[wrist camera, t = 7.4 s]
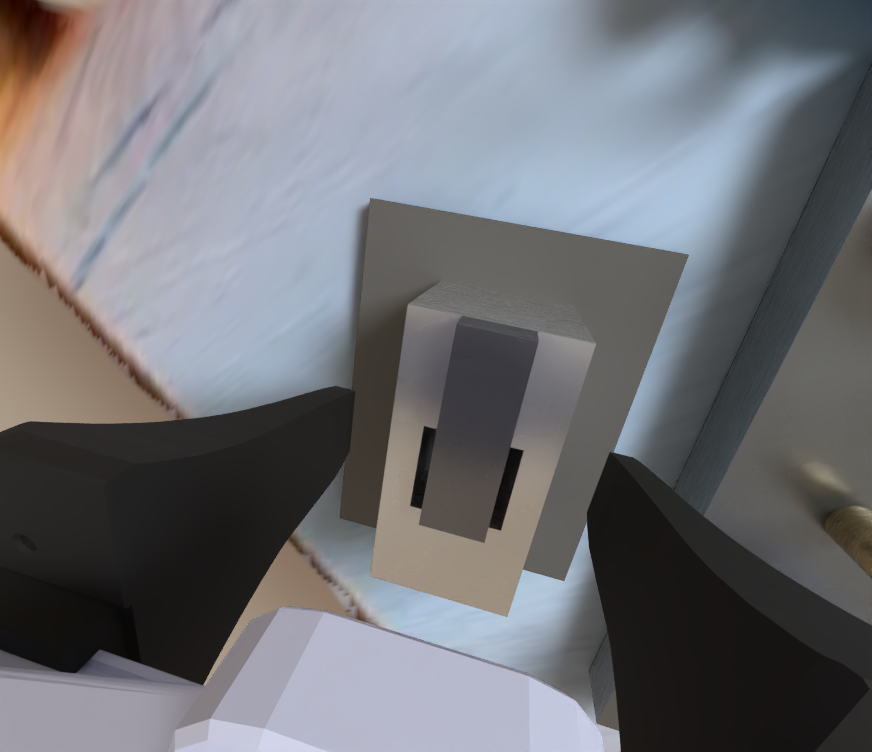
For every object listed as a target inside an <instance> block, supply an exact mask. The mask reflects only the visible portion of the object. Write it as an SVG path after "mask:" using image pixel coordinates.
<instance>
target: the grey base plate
mask: <svg viewBox="0 0 872 752" xmlns="http://www.w3.org/2000/svg"><path fill="white" fill-rule="evenodd" d="M673 491H674V492H676V493H677V494H678V495H679V496H680V497H681V498H682V499H684V500H685V501H686V502H687V503H688V504H690V505H691V506H692V507H693V508H694V509H695V510H697V511H698V512H699V513H700V514H702V515H703V516H704V517H705V518H706V519H708V520H709V521H710V522H712V523H713V524H714V525H715V526H717V527H718V528H719V529H720V530H722V531H723V532H724V533H726V534H727V535H728V536H729V537H731V538H732V539H734V540H735V541H736V542H738V543H739V544H740V545H742V546H743V547H745V548H746V549H747V550H749V551H750V552H752V553H753V554H755V555H756V556H758V557H759V558H761V559H762V560H763V561H765V562H766V563H768V564H769V565H771V566H772V567H774V568H775V569H777V570H778V571H780V572H781V573H783V574H785V575H786V576H788V577H789V578H791V579H792V580H794V581H796V582H797V583H799V584H801V585H802V586H804V587H806V588H807V589H809V590H811V591H812V592H814V593H816V594H817V595H819V596H821V597H822V598H824V599H826V600H827V601H829V602H831V603H832V604H834V605H836V606H838V607H839V608H841V609H843V610H845V611H847V612H848V613H850V614H852V615H854V616H855V617H857V618H859V619H861V620H863V621H865V622H867V623H868V624H870V625H872V65H871V68H870V70H869V72H868V74H867V76H866V78H865V80H864V83H863V85H862V87H861V89H860V91H859V93H858V95H857V98H856V100H855V102H854V104H853V106H852V108H851V110H850V113H849V115H848V117H847V119H846V121H845V123H844V125H843V128H842V130H841V132H840V134H839V136H838V138H837V140H836V143H835V145H834V147H833V149H832V151H831V153H830V155H829V158H828V160H827V162H826V164H825V166H824V168H823V171H822V173H821V175H820V177H819V179H818V181H817V183H816V186H815V188H814V190H813V192H812V194H811V196H810V198H809V201H808V203H807V205H806V207H805V209H804V211H803V213H802V216H801V218H800V220H799V222H798V224H797V226H796V228H795V231H794V233H793V235H792V237H791V239H790V241H789V243H788V246H787V248H786V250H785V252H784V254H783V256H782V258H781V261H780V263H779V265H778V267H777V269H776V271H775V274H774V276H773V278H772V280H771V282H770V284H769V286H768V289H767V291H766V293H765V295H764V297H763V299H762V301H761V304H760V306H759V308H758V310H757V312H756V314H755V316H754V319H753V321H752V323H751V325H750V327H749V329H748V331H747V334H746V336H745V338H744V340H743V342H742V344H741V346H740V349H739V351H738V353H737V355H736V357H735V359H734V361H733V364H732V366H731V368H730V370H729V372H728V374H727V377H726V379H725V381H724V383H723V385H722V387H721V389H720V392H719V394H718V396H717V398H716V400H715V402H714V404H713V407H712V409H711V411H710V413H709V415H708V417H707V419H706V422H705V424H704V426H703V428H702V430H701V432H700V434H699V437H698V439H697V441H696V443H695V445H694V447H693V449H692V452H691V454H690V456H689V458H688V460H687V462H686V464H685V467H684V469H683V471H682V473H681V475H680V477H679V480H678V482H677V484H676V486H675V488H674V490H673ZM589 674H590V681H591V688H592V694H593V701H594V708H595V715H596V722H597V724H600V725H603V726H606V727H609V728H612V729H615V730H618V731H619V722H618V712H617V701H616V690H615V682H614V673H613V664H612V656H611V647H610V642H609V636H608V632H607V634H606V636H605V638H604V640H603V643H602V645H601V647H600V649H599V651H598V653H597V655H596V658H595V660H594V662H593V664H592V666H591V668H590V670H589Z"/></svg>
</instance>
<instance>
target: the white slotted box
mask: <svg viewBox="0 0 872 752" xmlns="http://www.w3.org/2000/svg"><path fill="white" fill-rule="evenodd" d="M595 346H596V342H595V341H594V339H593V337H592V336H591V334H590V332H589V331H588V329H587V327H586V326H585V324H584V322H583V321H582V319H581V317H580V316H579V314H578V313H577V311H576V309H575V308H574V307H572V306H567V305H562V304H557V303H552V302H547V301H542V300H537V299H532V298H527V297H522V296H517V295H512V294H507V293H502V292H497V291H492V290H487V289H482V288H477V287H472V286H467V285H462V284H457V283H452V282H447V281H440V282H439V283H437V284H436V285H434V286H433V287H432V288H430V289H429V290H427V291H426V292H424V293H423V294H422V295H420V296H419V297H417V298H416V299H414V300H413V301H412V302H410V303H409V304H408V306H407V313H406V321H405V328H404V335H403V342H402V349H401V356H400V364H399V371H398V378H397V385H396V392H395V399H394V407H393V414H392V421H391V428H390V435H389V442H388V450H387V457H386V464H385V471H384V478H383V485H382V493H381V500H380V507H379V514H378V521H377V528H376V535H375V543H374V550H373V557H372V564H371V571H370V576H371V577H374V578H378V579H381V580H384V581H388V582H391V583H395V584H398V585H401V586H405V587H408V588H411V589H415V590H418V591H422V592H425V593H428V594H432V595H435V596H438V597H442V598H445V599H448V600H452V601H455V602H459V603H462V604H465V605H469V606H472V607H475V608H479V609H482V610H485V611H489V612H492V613H496V614H499V615H502V616H506V617H507V616H508V613H509V610H510V607H511V604H512V601H513V598H514V595H515V591H516V588H517V585H518V582H519V579H520V576H521V573H522V570H523V567H524V564H525V561H526V558H527V555H528V552H529V549H530V546H531V542H532V539H533V536H534V533H535V530H536V527H537V524H538V521H539V518H540V515H541V512H542V509H543V506H544V503H545V500H546V496H547V493H548V490H549V487H550V484H551V481H552V478H553V475H554V472H555V469H556V466H557V463H558V460H559V457H560V454H561V451H562V447H563V444H564V441H565V438H566V435H567V432H568V429H569V426H570V423H571V420H572V417H573V414H574V411H575V408H576V405H577V402H578V398H579V395H580V392H581V389H582V386H583V383H584V380H585V377H586V374H587V371H588V368H589V365H590V362H591V359H592V356H593V352H594V349H595Z"/></svg>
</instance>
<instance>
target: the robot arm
mask: <svg viewBox="0 0 872 752" xmlns="http://www.w3.org/2000/svg"><path fill="white" fill-rule="evenodd" d="M355 392H356V391H354V390H350V389H345V388H341V387H337V386H334V387H328V388H324V389H320V390H317V391H313V392H310V393H306V394H303V395H299V396H296V397H293V398H289V399H286V400H282V401H279V402H275V403H271V404H267V405H263V406H259V407H255V408H251V409H247V410H243V411H238V412H233V413H228V414H222V415H216V416H210V417H203V418H194V419H184V420H174V421H164V422H149V423H123V424H83V423H53V422H26V423H23V424H19V425H17V426H14V427H12V428H9V429H7V430H4V431H2V432H0V752H604V748H603V741H602V735H601V733H600V732H599V731H598V729H597V728H596V727H595V725H594V724H593V723H592V721H591V720H590V719H589V718H588V716H587V715H586V714H585V712H584V711H583V710H582V708H581V707H580V706H579V704H578V703H577V702H576V701H575V700H574V699H573V698H572V697H570V696H569V695H568V694H566V693H564V692H563V691H561V690H559V689H557V688H555V687H553V686H551V685H549V684H547V683H545V682H543V681H541V680H539V679H538V678H536V677H534V676H532V675H530V674H528V673H526V672H523V671H519V670H516V669H513V668H510V667H507V666H503V665H500V664H497V663H494V662H491V661H487V660H484V659H481V658H478V657H475V656H472V655H468V654H465V653H462V652H459V651H456V650H452V649H449V648H446V647H443V646H440V645H436V644H433V643H430V642H427V641H424V640H420V639H417V638H414V637H411V636H408V635H404V634H401V633H398V632H395V631H392V630H388V629H385V628H382V627H379V626H376V625H372V624H369V623H366V622H363V621H360V620H356V619H353V618H350V617H347V616H344V615H340V614H337V613H334V612H331V611H328V610H327V611H326V610H318V609H309V608H300V607H291V606H288V607H280V608H278V609H276V610H273V611H271V612H269V613H267V614H264V615H262V616H260V617H257V618H255V619H253V620H251V621H250V622H249V623H248V625H247V626H246V628H245V629H244V631H243V632H242V633H241V635H240V637H239V638H238V639H237V641H236V642H235V644H234V645H233V647H232V648H231V649H230V651H229V652H228V654H227V655H226V657H225V658H224V660H223V661H222V662H221V664H220V665H219V667H218V668H217V670H216V671H215V673H214V674H213V676H212V677H211V679H210V680H209V681H208V683H207V684H206V686H203V684H204V682H205V681H206V679H207V676H208V675H209V673H210V671H211V669H212V667H213V665H214V663H215V661H216V660H217V658H218V656H219V654H220V652H221V651H222V649H223V647H224V645H225V643H226V641H227V640H228V638H229V636H230V634H231V633H232V631H233V629H234V627H235V625H236V624H237V622H238V619H239V618H240V616H241V615H242V613H243V611H244V609H245V608H246V606H247V604H248V602H249V601H250V599H251V598H252V596H253V594H254V592H255V591H256V589H257V587H258V586H259V584H260V582H261V580H262V579H263V577H264V576H265V574H266V572H267V571H268V569H269V567H270V566H271V564H272V563H273V561H274V559H275V558H276V556H277V554H278V553H279V551H280V550H281V548H282V547H283V545H284V544H285V543H286V541H287V540H288V538H289V537H290V535H291V534H292V533H293V532H294V530H295V529H296V528H297V526H298V525H299V524H300V523H301V521H302V520H303V519H304V517H305V516H306V515H307V513H308V512H309V511H310V510H311V508H312V507H313V506H314V504H315V503H316V502H317V501H318V499H319V498H320V497H321V495H322V494H323V493H324V491H325V490H326V489H327V488H328V486H329V485H330V484H331V482H332V481H333V480H334V478H335V477H336V475H337V473H338V471H339V470H340V468H341V466H342V464H343V463H344V461H345V459H346V457H347V455H348V453H349V451H350V443H351V433H352V423H353V413H354V402H355ZM587 528H588V540H589V549H590V554H591V558H592V563H593V568H594V572H595V577H596V581H597V586H598V590H599V594H600V599H601V603H602V608H603V612H604V617H605V621H606V625H607V631H608V636H609V642H610V647H611V656H612V664H613V673H614V682H615V690H616V701H617V712H618V722H619V733H620V745H621V752H872V625H870V624H868V623H867V622H865V621H863V620H861V619H859V618H857V617H855V616H854V615H852V614H850V613H848V612H847V611H845V610H843V609H841V608H839V607H838V606H836V605H834V604H832V603H831V602H829V601H827V600H826V599H824V598H822V597H821V596H819V595H817V594H816V593H814V592H812V591H811V590H809V589H807V588H806V587H804V586H802V585H801V584H799V583H797V582H796V581H794V580H792V579H791V578H789V577H788V576H786V575H785V574H783V573H781V572H780V571H778V570H777V569H775V568H774V567H772V566H771V565H769V564H768V563H766V562H765V561H763V560H762V559H761V558H759V557H758V556H756V555H755V554H753V553H752V552H750V551H749V550H747V549H746V548H745V547H743V546H742V545H740V544H739V543H738V542H736V541H735V540H734V539H732V538H731V537H729V536H728V535H727V534H726V533H724V532H723V531H722V530H720V529H719V528H718V527H717V526H715V525H714V524H713V523H712V522H710V521H709V520H708V519H706V518H705V517H704V516H703V515H702V514H700V513H699V512H698V511H697V510H695V509H694V508H693V507H692V506H691V505H690V504H688V503H687V502H686V501H685V500H684V499H682V498H681V497H680V496H679V495H678V494H677V493H676V492H674V491H673V490H672V489H671V488H670V487H669V486H668V485H666V484H665V483H664V482H663V481H662V480H661V479H660V478H658V477H657V476H656V475H655V474H654V473H653V472H651V471H650V470H649V469H648V468H647V467H645V466H644V465H643V464H642V463H640V462H639V461H638V460H636V459H635V458H633V457H629V456H624V455H620V454H616V453H612V452H609V455H608V458H607V460H606V463H605V466H604V468H603V471H602V473H601V476H600V479H599V481H598V484H597V487H596V489H595V492H594V495H593V497H592V500H591V503H590V505H589V508H588V511H587Z"/></svg>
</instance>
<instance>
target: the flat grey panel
mask: <svg viewBox="0 0 872 752" xmlns="http://www.w3.org/2000/svg"><path fill="white" fill-rule="evenodd" d="M688 256H689V255H687V254H682V253H676V252H671V251H665V250H660V249H654V248H648V247H643V246H637V245H631V244H626V243H620V242H615V241H609V240H603V239H598V238H592V237H586V236H581V235H575V234H570V233H564V232H558V231H553V230H547V229H542V228H536V227H530V226H525V225H519V224H513V223H508V222H502V221H497V220H491V219H485V218H480V217H474V216H468V215H463V214H457V213H452V212H446V211H440V210H435V209H429V208H423V207H418V206H412V205H407V204H401V203H395V202H390V201H384V200H379V199H373V198H370V205H369V216H368V226H367V237H366V247H365V258H364V268H363V279H362V290H361V300H360V311H359V321H358V332H357V342H356V353H355V363H354V374H353V384H352V390H354V391H356V392H355V402H354V413H353V423H352V433H351V443H350V451H349V453H348V455H347V457H346V459H345V468H344V479H343V489H342V500H341V510H340V518H342V519H346V520H349V521H353V522H356V523H360V524H363V525H367V526H371V527H374V528H377V521H378V514H379V507H380V500H381V493H382V485H383V478H384V471H385V464H386V457H387V450H388V442H389V435H390V428H391V421H392V414H393V407H394V399H395V392H396V385H397V378H398V371H399V364H400V356H401V349H402V342H403V335H404V328H405V321H406V313H407V306H408V304H409V303H410V302H412V301H413V300H414V299H416V298H417V297H419V296H420V295H422V294H423V293H424V292H426V291H427V290H429V289H430V288H432V287H433V286H434V285H436V284H437V283H439V282H440V281H447V282H452V283H457V284H462V285H467V286H472V287H477V288H482V289H487V290H492V291H497V292H502V293H507V294H512V295H517V296H522V297H527V298H532V299H537V300H542V301H547V302H552V303H557V304H562V305H567V306H572V307H574V308H575V309H576V311H577V313H578V314H579V316H580V317H581V319H582V321H583V322H584V324H585V326H586V327H587V329H588V331H589V332H590V334H591V336H592V337H593V339H594V341H595V342H596V346H595V349H594V352H593V356H592V359H591V362H590V365H589V368H588V371H587V374H586V377H585V380H584V383H583V386H582V389H581V392H580V395H579V398H578V402H577V405H576V408H575V411H574V414H573V417H572V420H571V423H570V426H569V429H568V432H567V435H566V438H565V441H564V444H563V447H562V451H561V454H560V457H559V460H558V463H557V466H556V469H555V472H554V475H553V478H552V481H551V484H550V487H549V490H548V493H547V496H546V500H545V503H544V506H543V509H542V512H541V515H540V518H539V521H538V524H537V527H536V530H535V533H534V536H533V539H532V542H531V546H530V549H529V552H528V555H527V558H526V561H525V564H524V567H523V570H527V571H530V572H534V573H538V574H541V575H545V576H548V577H552V578H555V579H559V580H562V581H564V580H565V577H566V575H567V572H568V570H569V567H570V564H571V562H572V559H573V556H574V554H575V551H576V549H577V546H578V543H579V541H580V538H581V536H582V533H583V530H584V528H585V525H586V522H587V511H588V508H589V505H590V503H591V500H592V497H593V495H594V492H595V489H596V487H597V484H598V481H599V479H600V476H601V473H602V471H603V468H604V466H605V463H606V460H607V458H608V455H609V452H612V453H613V452H614V449H615V447H616V444H617V441H618V439H619V436H620V434H621V431H622V428H623V426H624V423H625V420H626V418H627V415H628V413H629V410H630V407H631V405H632V402H633V400H634V397H635V394H636V392H637V389H638V387H639V384H640V381H641V379H642V376H643V373H644V371H645V368H646V366H647V363H648V360H649V358H650V355H651V353H652V350H653V347H654V345H655V342H656V339H657V337H658V334H659V332H660V329H661V326H662V324H663V321H664V319H665V316H666V313H667V311H668V308H669V305H670V303H671V300H672V298H673V295H674V292H675V290H676V287H677V285H678V282H679V279H680V277H681V274H682V271H683V269H684V266H685V264H686V261H687V258H688Z"/></svg>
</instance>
